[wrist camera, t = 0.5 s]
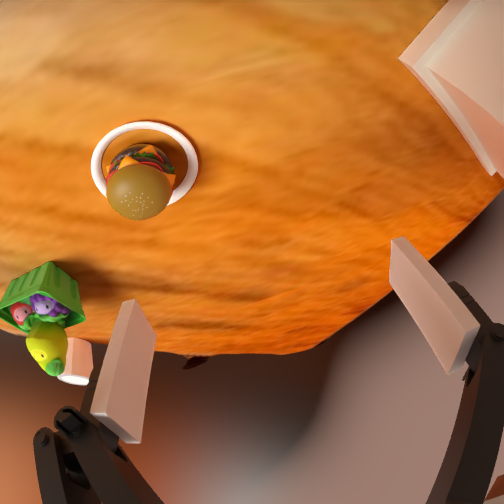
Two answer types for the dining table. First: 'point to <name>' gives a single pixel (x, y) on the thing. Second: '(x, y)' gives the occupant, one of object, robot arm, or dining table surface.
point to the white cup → (77, 362)
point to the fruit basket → (44, 313)
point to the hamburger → (142, 173)
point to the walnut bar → (496, 492)
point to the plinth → (466, 72)
